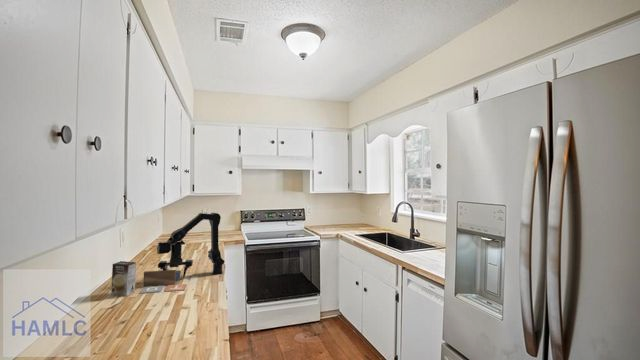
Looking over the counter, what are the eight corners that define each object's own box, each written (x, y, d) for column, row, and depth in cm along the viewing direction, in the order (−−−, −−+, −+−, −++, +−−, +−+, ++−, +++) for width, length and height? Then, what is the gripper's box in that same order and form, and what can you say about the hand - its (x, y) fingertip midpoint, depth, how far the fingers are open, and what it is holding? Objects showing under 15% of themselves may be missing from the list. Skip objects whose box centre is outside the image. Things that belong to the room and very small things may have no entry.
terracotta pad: (168, 286, 173) (168, 285, 173) (187, 284, 175) (187, 283, 176) (164, 291, 163) (164, 290, 163) (184, 290, 166) (184, 289, 166)
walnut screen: (144, 285, 173) (144, 271, 173) (175, 283, 177) (175, 269, 178) (143, 286, 171) (143, 272, 171) (174, 284, 175) (175, 270, 176)
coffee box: (110, 295, 156) (111, 263, 157) (119, 291, 163) (120, 261, 163) (126, 296, 155) (128, 264, 156) (135, 292, 162) (136, 261, 162)
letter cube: (171, 279, 186) (171, 270, 186) (180, 278, 188) (180, 270, 188) (170, 281, 182) (170, 272, 182) (179, 280, 183) (179, 272, 183)
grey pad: (144, 287, 169) (144, 286, 169) (164, 286, 172) (164, 285, 172) (139, 293, 160) (139, 292, 160) (160, 292, 162) (160, 291, 162)
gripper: (156, 255, 175) (155, 283, 174) (191, 254, 180) (190, 280, 180) (160, 251, 185) (159, 277, 185) (193, 250, 191) (192, 275, 190)
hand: (175, 278), depth 185 cm, fingers open, 9 cm apart
